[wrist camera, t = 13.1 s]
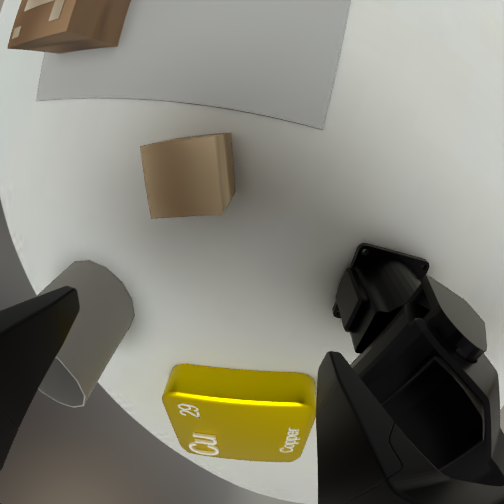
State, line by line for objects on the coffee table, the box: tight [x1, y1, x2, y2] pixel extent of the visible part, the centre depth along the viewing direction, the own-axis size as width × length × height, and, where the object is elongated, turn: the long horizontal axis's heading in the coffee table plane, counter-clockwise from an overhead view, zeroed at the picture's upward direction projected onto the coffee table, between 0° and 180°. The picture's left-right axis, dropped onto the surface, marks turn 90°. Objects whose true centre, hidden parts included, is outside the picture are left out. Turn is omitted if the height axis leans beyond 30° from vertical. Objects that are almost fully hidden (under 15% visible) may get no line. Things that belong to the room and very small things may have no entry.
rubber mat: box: [36, 0, 351, 129], centre depth 13 cm, size 23×14×1 cm, turn 78°
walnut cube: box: [8, 0, 131, 54], centre depth 10 cm, size 6×6×6 cm
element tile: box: [162, 364, 316, 462], centre depth 28 cm, size 15×15×5 cm
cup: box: [36, 260, 135, 407], centre depth 20 cm, size 8×8×10 cm
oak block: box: [140, 133, 235, 219], centre depth 16 cm, size 4×4×5 cm
